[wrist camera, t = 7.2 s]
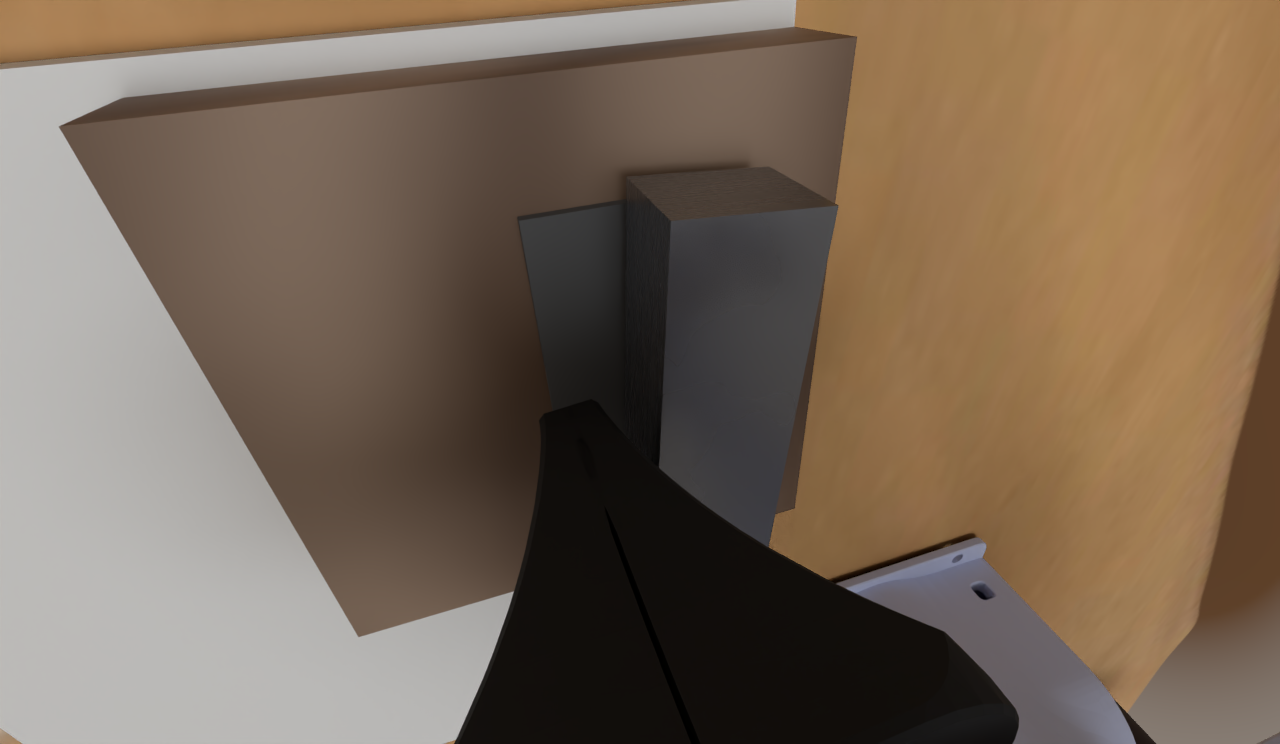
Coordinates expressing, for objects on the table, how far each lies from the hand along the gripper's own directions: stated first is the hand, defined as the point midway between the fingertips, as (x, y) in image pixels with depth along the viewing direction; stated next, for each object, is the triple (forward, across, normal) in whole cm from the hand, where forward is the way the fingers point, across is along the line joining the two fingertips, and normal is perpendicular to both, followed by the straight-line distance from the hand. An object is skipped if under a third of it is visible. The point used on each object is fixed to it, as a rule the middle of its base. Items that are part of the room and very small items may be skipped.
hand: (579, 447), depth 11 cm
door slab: (+4, 0, 0) cm, 4 cm away
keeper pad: (+1, -2, -1) cm, 2 cm away
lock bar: (+1, -2, +3) cm, 4 cm away
